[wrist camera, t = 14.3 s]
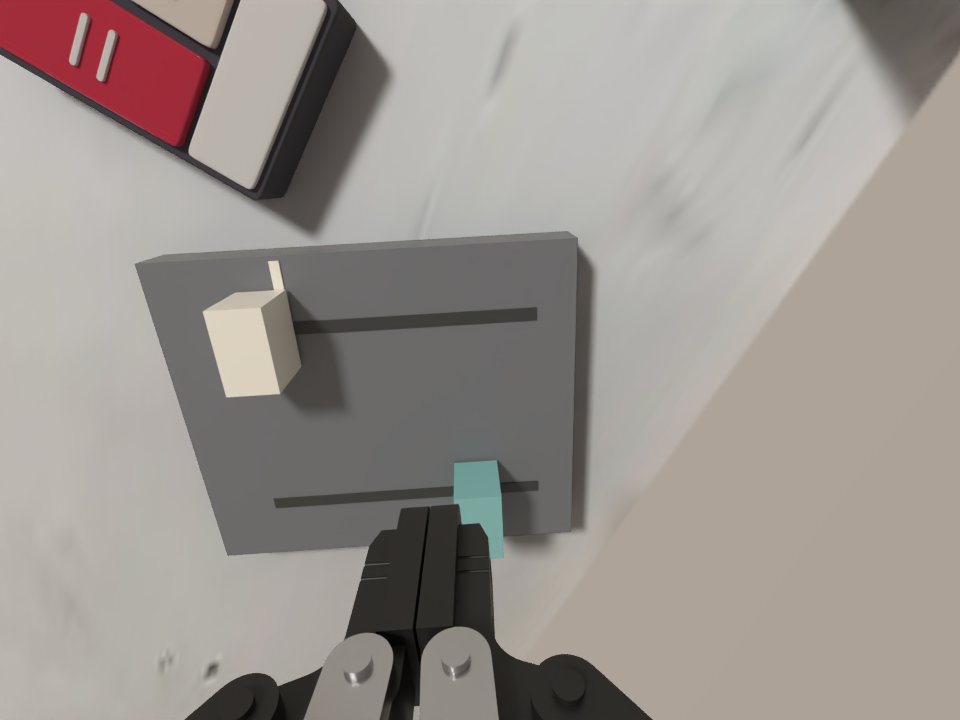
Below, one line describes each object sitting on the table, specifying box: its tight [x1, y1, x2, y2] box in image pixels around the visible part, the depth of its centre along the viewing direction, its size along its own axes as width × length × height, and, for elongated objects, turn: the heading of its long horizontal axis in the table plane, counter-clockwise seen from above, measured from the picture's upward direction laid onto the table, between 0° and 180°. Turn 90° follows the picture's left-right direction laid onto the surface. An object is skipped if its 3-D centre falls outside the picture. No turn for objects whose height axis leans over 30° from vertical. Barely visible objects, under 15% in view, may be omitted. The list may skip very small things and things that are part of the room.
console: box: [135, 231, 578, 556], centre depth 34 cm, size 26×22×3 cm
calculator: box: [0, 0, 356, 200], centre depth 25 cm, size 11×4×15 cm
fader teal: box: [454, 460, 504, 559], centre depth 33 cm, size 3×5×4 cm, turn 3°
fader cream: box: [203, 290, 302, 397], centre depth 28 cm, size 3×5×4 cm, turn 3°
